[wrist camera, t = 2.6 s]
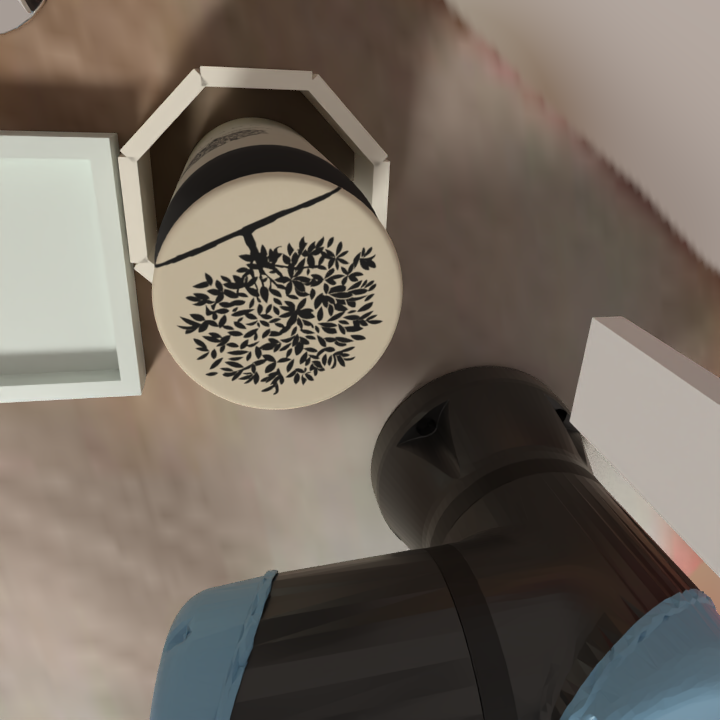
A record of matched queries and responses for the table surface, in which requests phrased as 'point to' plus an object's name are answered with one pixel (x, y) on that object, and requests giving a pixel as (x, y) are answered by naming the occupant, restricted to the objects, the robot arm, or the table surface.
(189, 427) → the table surface
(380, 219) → the holder
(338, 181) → the travel mug
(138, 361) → the tray
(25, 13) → the wineglass
